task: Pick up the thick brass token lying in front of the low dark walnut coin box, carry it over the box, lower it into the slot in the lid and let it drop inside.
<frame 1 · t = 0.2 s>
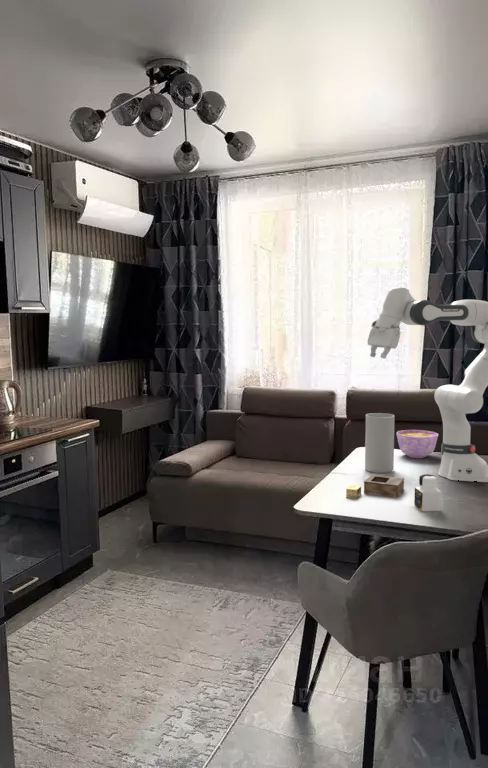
hand: (377, 357, 239), 52 cm above the table, tool tilted 20°, fingers open, 8 cm apart
cylinder vase: (379, 470, 263), on the table
medicine bottle: (427, 508, 208), on the table
brass token: (353, 496, 224), on the table
coin box: (384, 491, 230), on the table
bowl of food: (416, 456, 290), on the table
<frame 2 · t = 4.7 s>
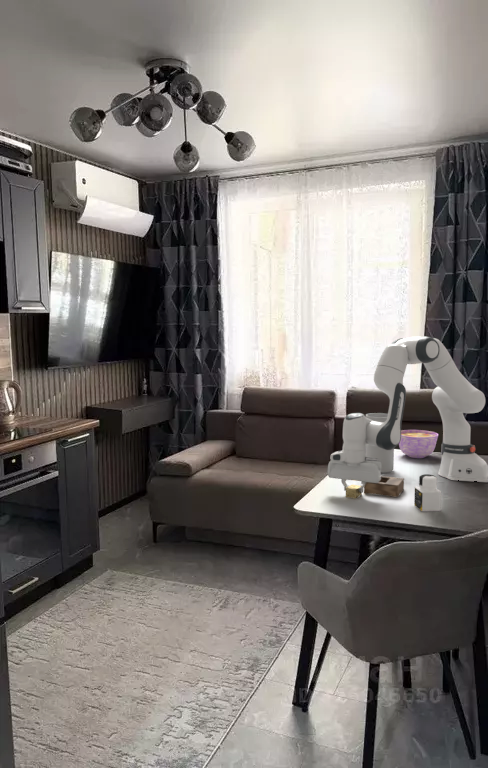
hand: (353, 491, 224), 2 cm above the table, tool pointing down, fingers closed on brass token, 4 cm apart
brass token: (353, 495, 224), on the table, touching gripper
everything else where it was.
when the fingers open (6 cm above the table, at t = 9.7 s): brass token drops 4 cm, resting in coin box.
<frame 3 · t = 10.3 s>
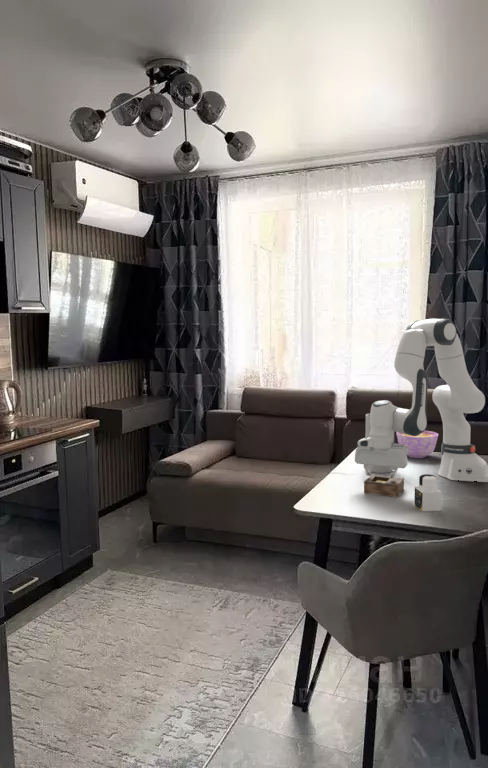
hand: (380, 476, 230), 6 cm above the table, tool pointing down, fingers open, 8 cm apart
brass token: (380, 491, 230), resting in coin box
everything else where it was.
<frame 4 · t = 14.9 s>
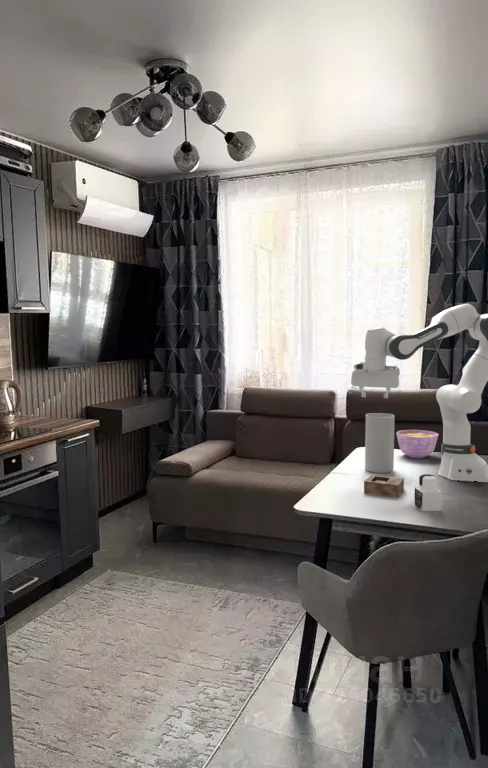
hand: (374, 397, 251), 34 cm above the table, tool pointing down, fingers open, 8 cm apart
nothing on the table moved.
at the end: brass token inside the target area on the coin box (1.5 cm from its centre), point 0.0 cm above the coin box's base; the gripper is holding nothing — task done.
